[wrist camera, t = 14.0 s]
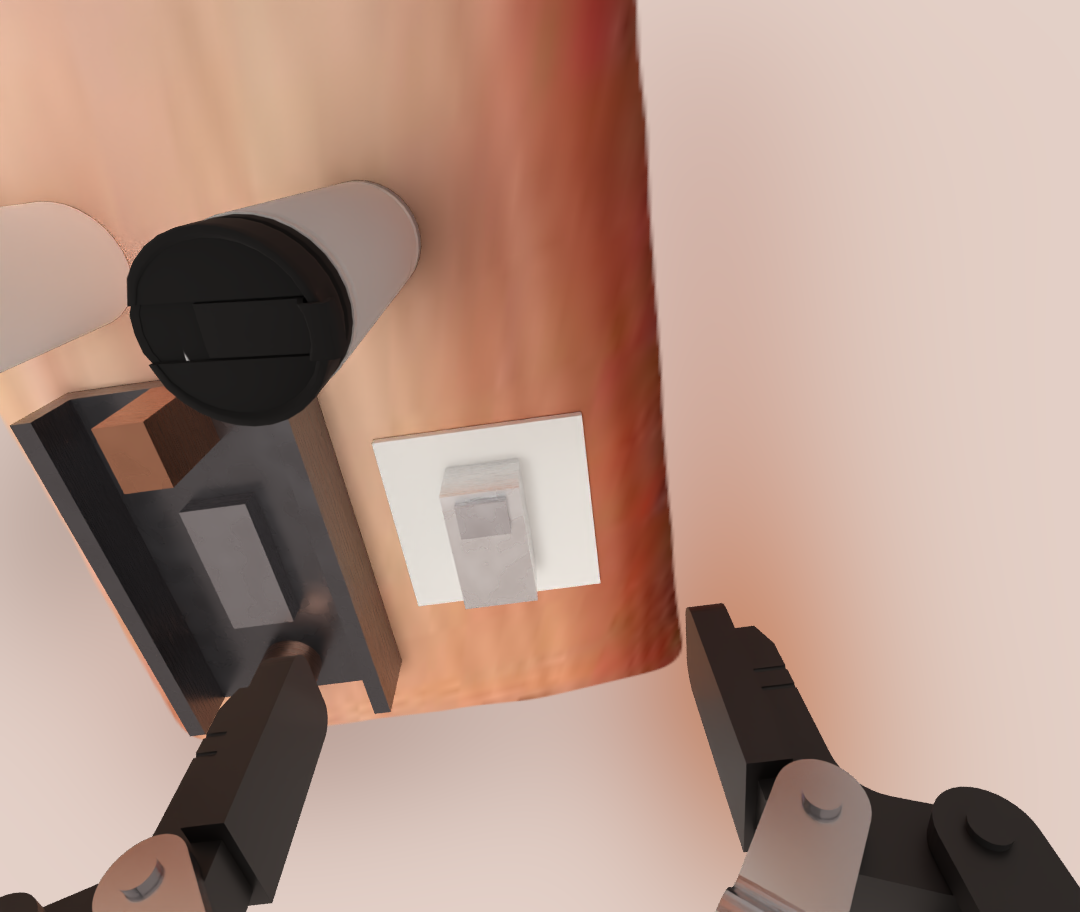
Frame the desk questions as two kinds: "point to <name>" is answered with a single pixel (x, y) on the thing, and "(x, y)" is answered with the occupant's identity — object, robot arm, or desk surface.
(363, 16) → the desk surface
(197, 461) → the dark grey tray
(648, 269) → the desk surface
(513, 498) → the grey box
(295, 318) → the travel mug
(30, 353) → the cylindrical container
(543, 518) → the white mat
